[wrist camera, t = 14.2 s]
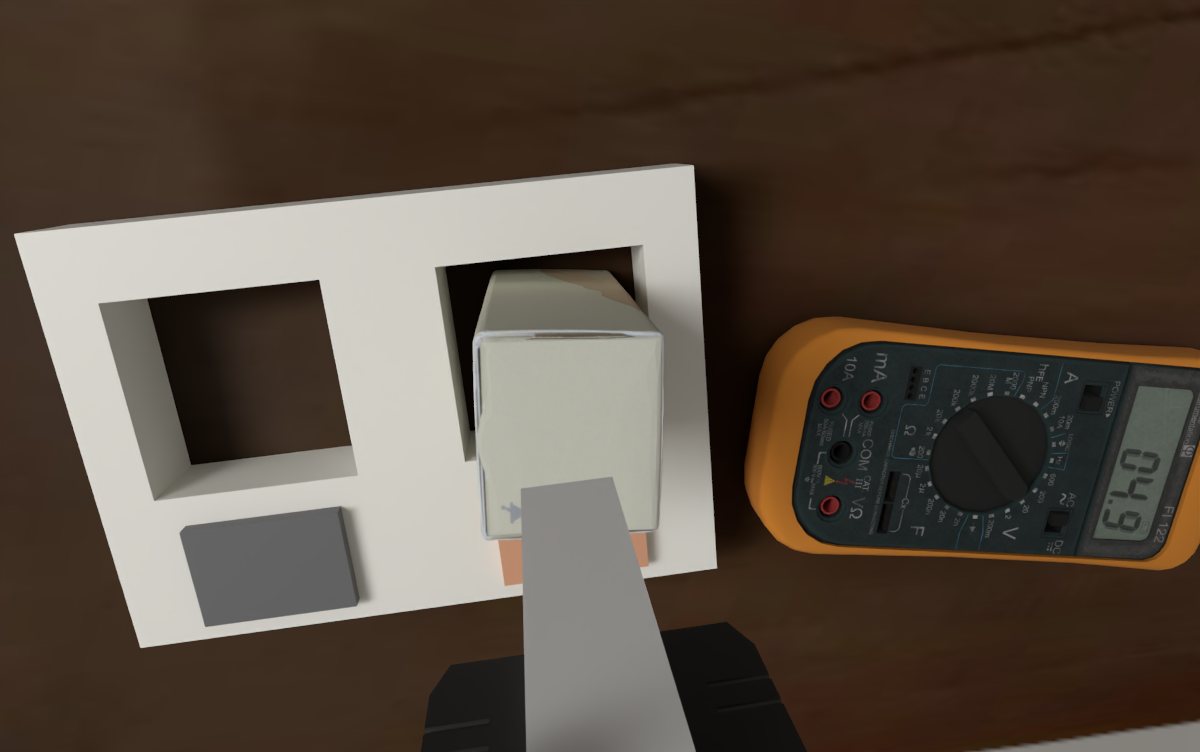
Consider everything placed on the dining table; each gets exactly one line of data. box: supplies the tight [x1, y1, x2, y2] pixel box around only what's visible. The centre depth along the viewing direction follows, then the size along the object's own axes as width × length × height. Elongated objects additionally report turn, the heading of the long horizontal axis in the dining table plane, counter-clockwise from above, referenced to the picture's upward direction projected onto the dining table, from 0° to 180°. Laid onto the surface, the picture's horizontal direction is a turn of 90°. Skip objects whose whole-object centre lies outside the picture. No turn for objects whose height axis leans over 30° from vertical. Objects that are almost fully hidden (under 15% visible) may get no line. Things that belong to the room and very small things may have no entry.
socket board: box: [14, 164, 717, 648], centre depth 27 cm, size 20×14×4 cm
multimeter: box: [744, 317, 1200, 570], centre depth 30 cm, size 9×18×4 cm, turn 84°
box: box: [473, 269, 665, 541], centre depth 23 cm, size 5×4×11 cm
